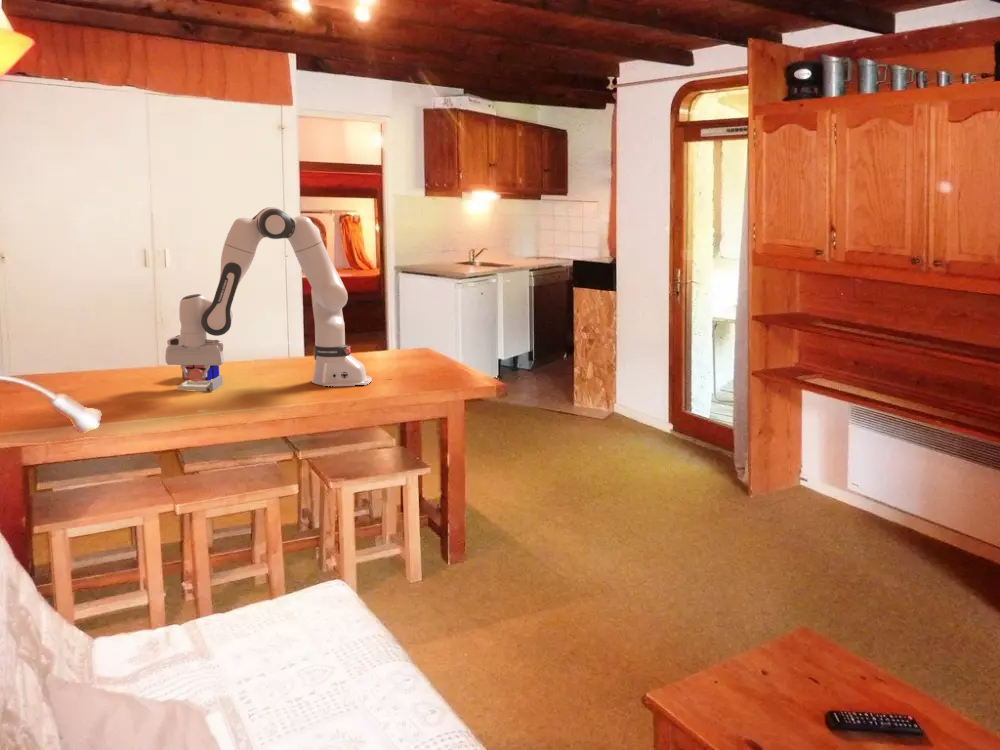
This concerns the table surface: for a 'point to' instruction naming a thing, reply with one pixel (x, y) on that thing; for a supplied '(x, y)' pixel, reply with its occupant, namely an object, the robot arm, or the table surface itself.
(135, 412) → the table surface
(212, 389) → the bar
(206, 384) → the tray
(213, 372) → the puzzle cube
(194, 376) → the ball
